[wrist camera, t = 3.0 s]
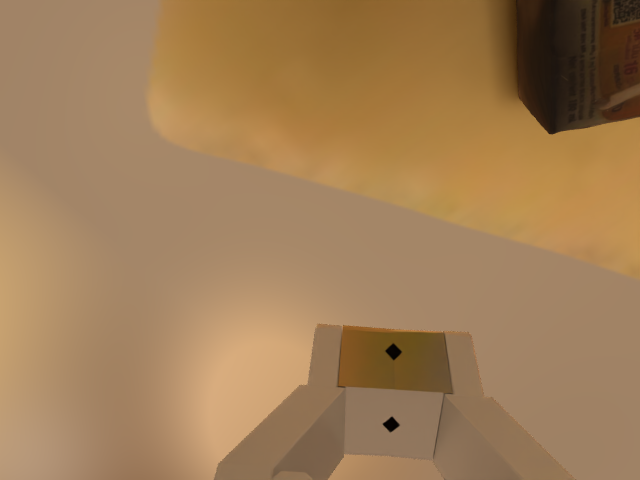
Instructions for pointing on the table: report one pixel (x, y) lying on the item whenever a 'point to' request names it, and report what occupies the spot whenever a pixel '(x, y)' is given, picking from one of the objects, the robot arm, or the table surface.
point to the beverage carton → (579, 61)
